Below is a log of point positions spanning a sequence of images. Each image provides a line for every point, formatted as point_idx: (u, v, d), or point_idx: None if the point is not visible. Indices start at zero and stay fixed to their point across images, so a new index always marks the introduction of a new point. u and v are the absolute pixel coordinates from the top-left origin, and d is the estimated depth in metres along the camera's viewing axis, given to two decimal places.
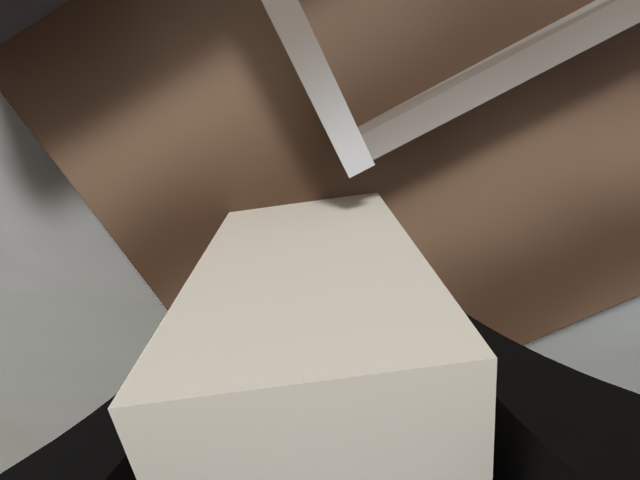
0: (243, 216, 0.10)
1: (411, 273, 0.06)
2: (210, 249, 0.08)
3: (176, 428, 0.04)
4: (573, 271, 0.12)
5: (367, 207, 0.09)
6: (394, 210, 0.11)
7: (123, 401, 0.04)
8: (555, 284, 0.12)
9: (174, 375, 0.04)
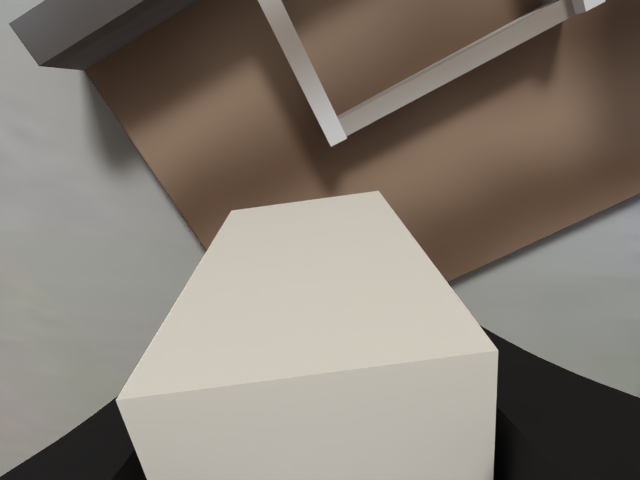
0: (245, 214, 0.10)
1: (413, 270, 0.06)
2: (213, 246, 0.08)
3: (183, 420, 0.04)
4: (494, 220, 0.16)
5: (369, 205, 0.09)
6: (365, 174, 0.15)
7: (131, 393, 0.04)
8: (482, 229, 0.16)
9: (181, 368, 0.04)
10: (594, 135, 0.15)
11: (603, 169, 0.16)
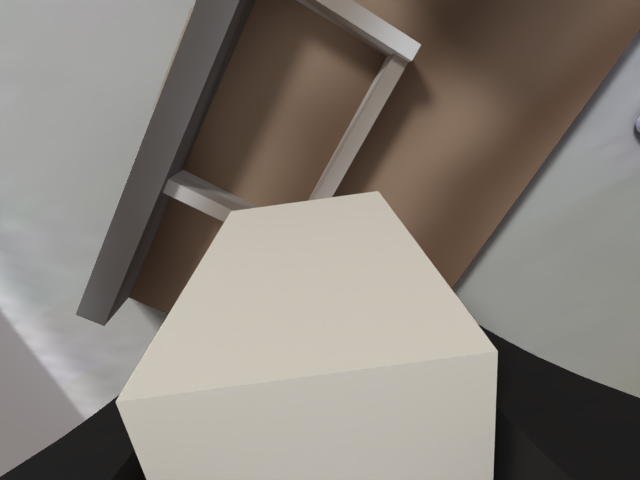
0: (245, 215, 0.10)
1: (412, 270, 0.06)
2: (213, 247, 0.08)
3: (182, 421, 0.04)
4: (463, 215, 0.18)
5: (368, 206, 0.09)
6: None
7: (130, 395, 0.04)
8: (458, 227, 0.18)
9: (180, 369, 0.04)
10: (498, 108, 0.17)
11: (526, 125, 0.17)
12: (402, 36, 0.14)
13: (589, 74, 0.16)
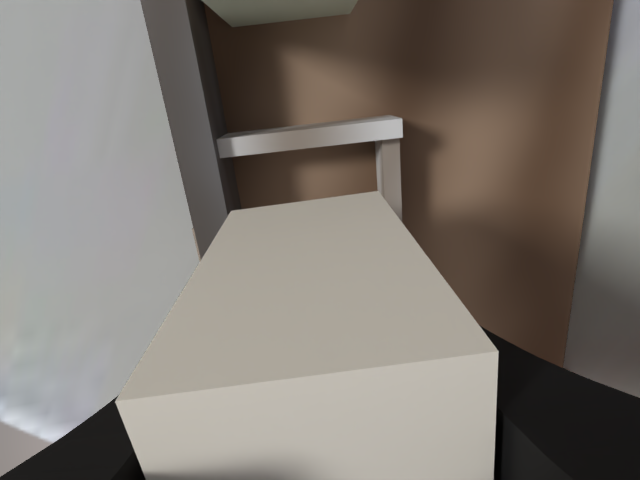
0: (245, 214, 0.10)
1: (412, 270, 0.06)
2: (213, 247, 0.08)
3: (182, 421, 0.04)
4: (541, 214, 0.16)
5: (368, 205, 0.09)
6: None
7: (130, 394, 0.04)
8: (544, 227, 0.16)
9: (180, 369, 0.04)
10: (514, 100, 0.15)
11: (555, 95, 0.15)
12: (380, 124, 0.13)
13: (594, 3, 0.13)
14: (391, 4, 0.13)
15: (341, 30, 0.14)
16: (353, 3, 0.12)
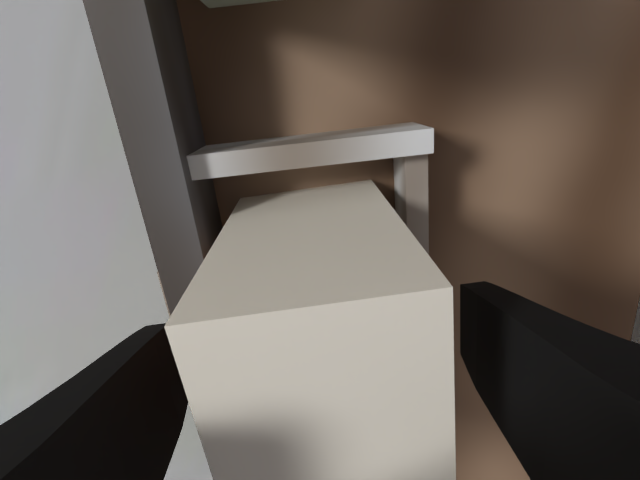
0: (253, 200, 0.11)
1: (395, 237, 0.07)
2: (227, 225, 0.09)
3: (214, 342, 0.06)
4: (598, 244, 0.13)
5: (362, 191, 0.11)
6: None
7: (175, 321, 0.06)
8: (600, 260, 0.13)
9: (211, 306, 0.06)
10: (571, 104, 0.11)
11: (623, 97, 0.11)
12: (404, 136, 0.10)
13: None
14: None
15: (351, 12, 0.10)
16: None
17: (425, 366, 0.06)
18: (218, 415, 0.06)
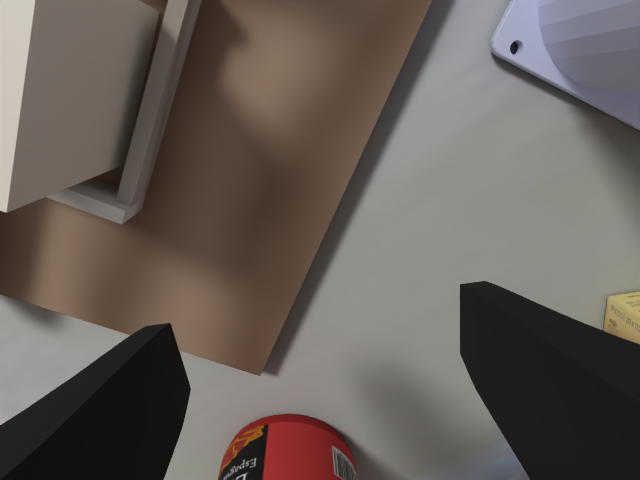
0: None
1: None
2: None
3: None
4: (311, 165, 0.17)
5: None
6: (187, 211, 0.17)
7: None
8: (310, 179, 0.17)
9: None
10: (323, 40, 0.15)
11: (358, 57, 0.15)
12: None
13: None
14: None
15: None
16: None
17: (12, 4, 0.08)
18: None
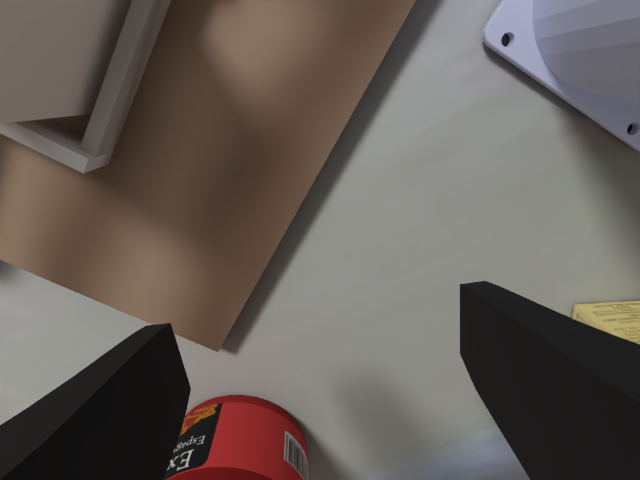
0: None
1: None
2: None
3: None
4: (290, 136, 0.16)
5: None
6: (157, 170, 0.17)
7: None
8: (287, 151, 0.16)
9: None
10: (313, 7, 0.15)
11: (348, 29, 0.15)
12: None
13: None
14: None
15: None
16: None
17: None
18: None
